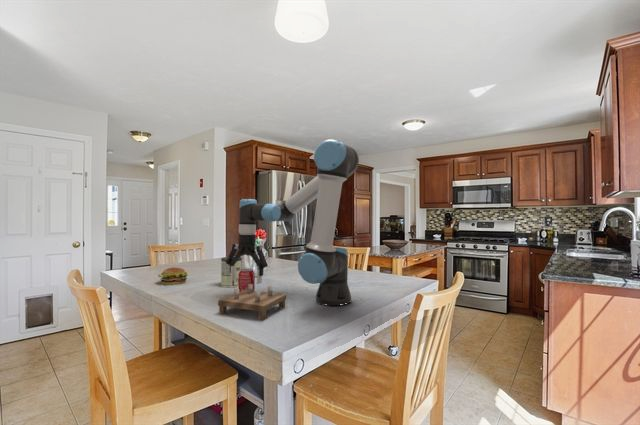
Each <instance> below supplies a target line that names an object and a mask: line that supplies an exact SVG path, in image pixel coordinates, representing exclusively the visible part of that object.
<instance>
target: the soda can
mask: <svg viewBox="0 0 640 425" xmlns="http://www.w3.org/2000/svg"><path fill="white" fill-rule="evenodd" d="M255 276H256V274H255V272H254V268H242V269H240V272H239V277H238V287H237V289H239V292H241V291H244V290H248V284H253V291H256V290H255V288H256V287H255V284H256V283H255V282H256V279H255V278H256V277H255Z"/></svg>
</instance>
